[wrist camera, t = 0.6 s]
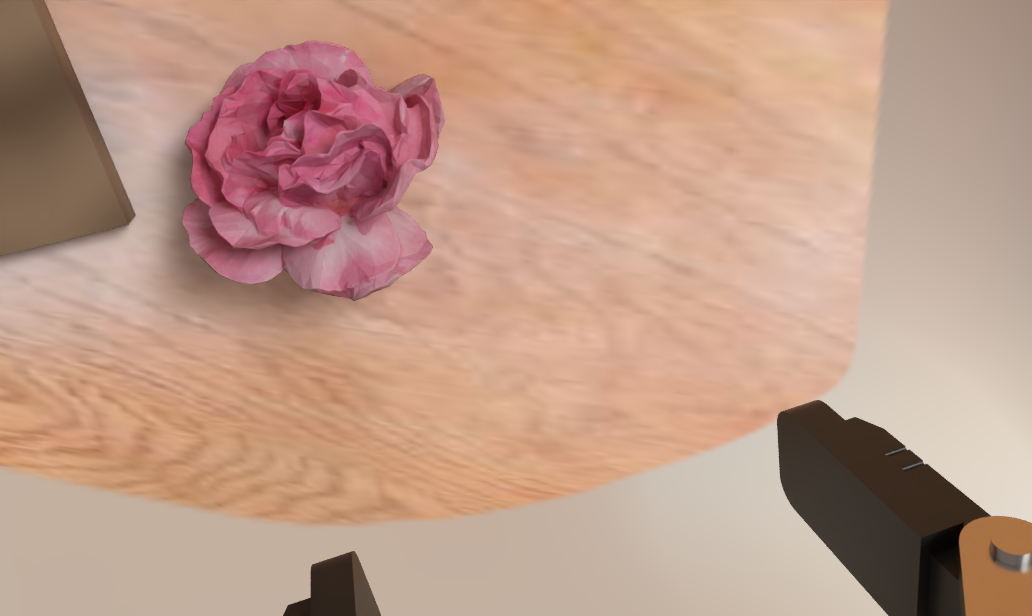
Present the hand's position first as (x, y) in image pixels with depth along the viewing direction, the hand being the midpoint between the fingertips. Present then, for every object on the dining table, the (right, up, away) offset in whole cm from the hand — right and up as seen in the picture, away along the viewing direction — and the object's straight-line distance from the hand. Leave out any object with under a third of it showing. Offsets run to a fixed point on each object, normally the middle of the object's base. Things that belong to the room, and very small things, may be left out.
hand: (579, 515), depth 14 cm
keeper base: (-26, +12, +17) cm, 33 cm away
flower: (-11, +11, +22) cm, 27 cm away
